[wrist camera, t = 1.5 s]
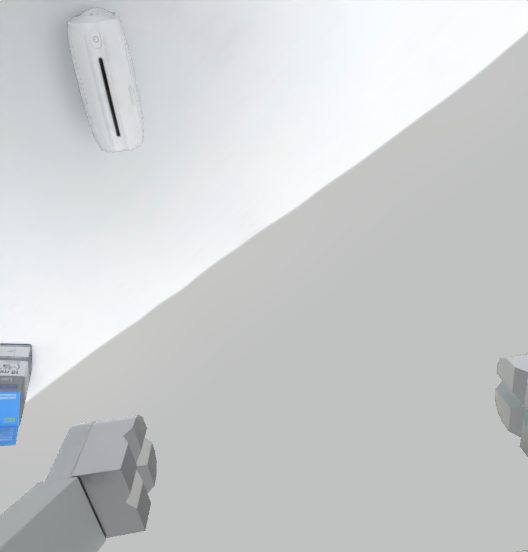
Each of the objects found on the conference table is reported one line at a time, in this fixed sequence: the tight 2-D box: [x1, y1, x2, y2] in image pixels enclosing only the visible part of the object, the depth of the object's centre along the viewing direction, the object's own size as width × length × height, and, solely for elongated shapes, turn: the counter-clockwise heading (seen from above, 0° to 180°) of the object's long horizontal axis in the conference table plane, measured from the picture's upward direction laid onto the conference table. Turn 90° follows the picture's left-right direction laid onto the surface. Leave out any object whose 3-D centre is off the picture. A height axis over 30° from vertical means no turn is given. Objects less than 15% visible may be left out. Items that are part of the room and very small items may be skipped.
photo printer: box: [67, 8, 144, 152], centre depth 39 cm, size 10×4×12 cm, turn 4°
